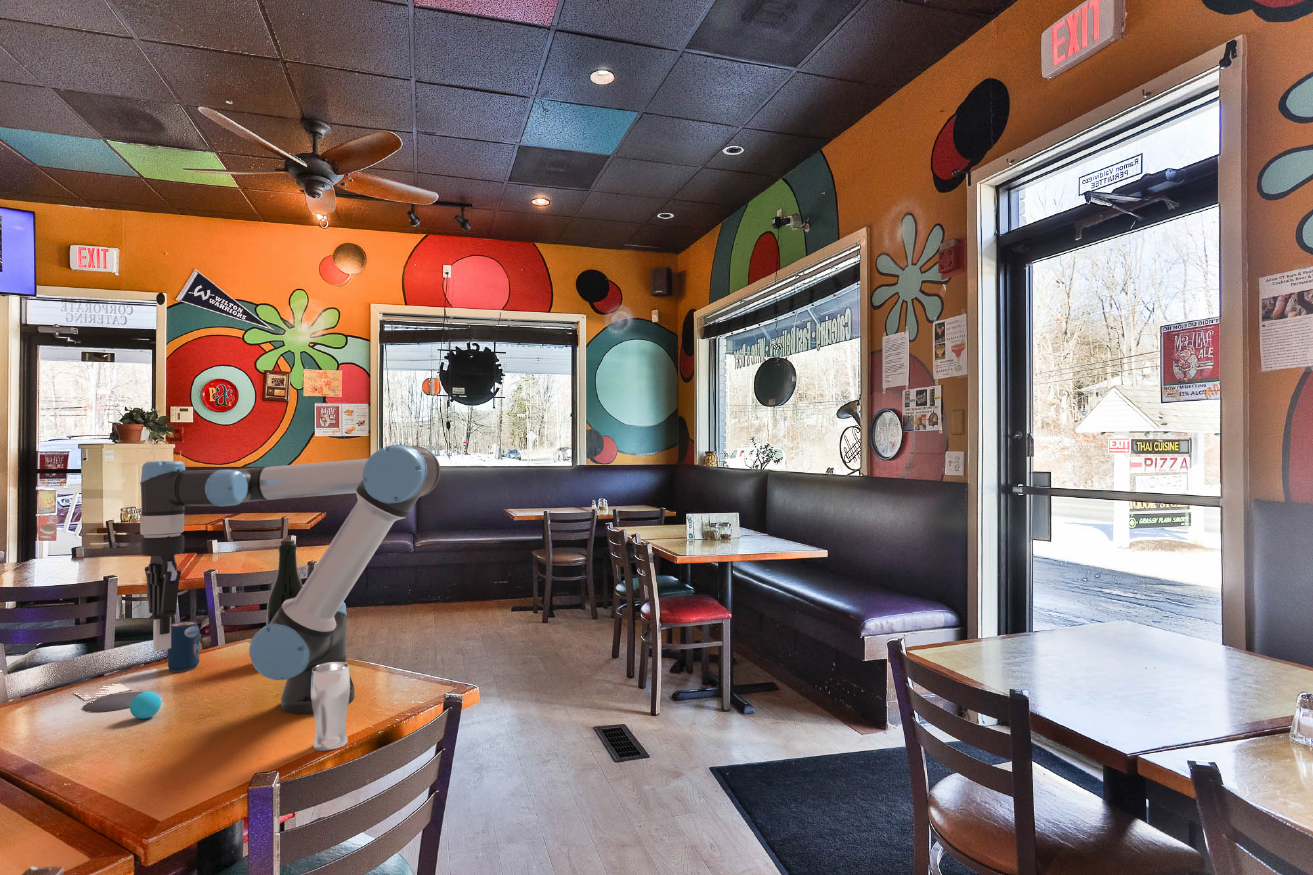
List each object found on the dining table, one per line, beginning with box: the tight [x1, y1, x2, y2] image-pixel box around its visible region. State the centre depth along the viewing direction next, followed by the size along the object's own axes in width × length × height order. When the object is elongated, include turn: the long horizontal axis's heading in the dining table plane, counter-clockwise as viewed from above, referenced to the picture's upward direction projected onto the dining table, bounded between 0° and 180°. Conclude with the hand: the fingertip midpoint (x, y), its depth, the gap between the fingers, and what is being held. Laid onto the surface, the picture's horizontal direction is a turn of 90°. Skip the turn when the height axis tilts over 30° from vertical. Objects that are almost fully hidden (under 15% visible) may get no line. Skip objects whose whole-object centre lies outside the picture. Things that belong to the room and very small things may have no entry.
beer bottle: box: [265, 539, 303, 626], centre depth 197 cm, size 10×10×33 cm
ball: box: [129, 691, 162, 720], centre depth 154 cm, size 6×6×6 cm
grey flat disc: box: [82, 691, 144, 713], centre depth 164 cm, size 13×13×1 cm
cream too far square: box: [73, 682, 132, 701], centre depth 171 cm, size 9×9×1 cm
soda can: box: [167, 620, 200, 673], centre depth 190 cm, size 7×7×12 cm
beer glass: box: [311, 662, 351, 752], centre depth 139 cm, size 7×7×15 cm
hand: (162, 648), depth 148 cm, fingers closed
